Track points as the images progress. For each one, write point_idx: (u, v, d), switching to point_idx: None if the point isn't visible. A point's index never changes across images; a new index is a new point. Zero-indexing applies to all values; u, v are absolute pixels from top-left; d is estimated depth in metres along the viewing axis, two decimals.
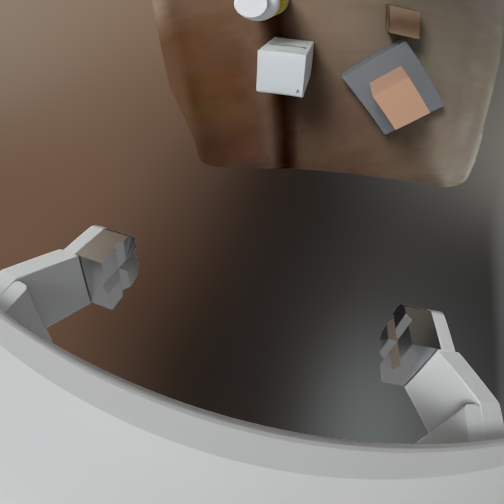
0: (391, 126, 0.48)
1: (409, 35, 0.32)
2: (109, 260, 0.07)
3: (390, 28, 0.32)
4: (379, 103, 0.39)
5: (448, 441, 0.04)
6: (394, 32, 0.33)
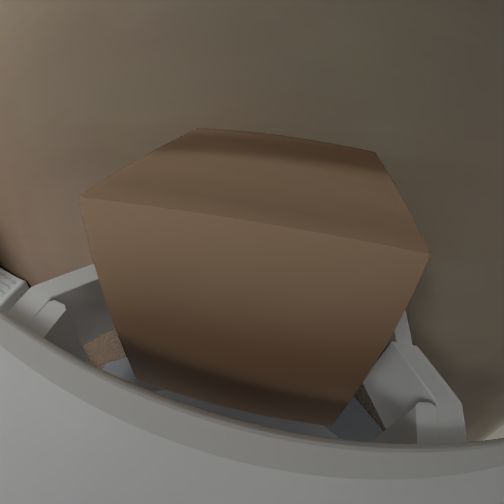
0: None
1: (264, 411, 0.06)
2: None
3: None
4: None
5: (398, 441, 0.05)
6: (162, 384, 0.07)
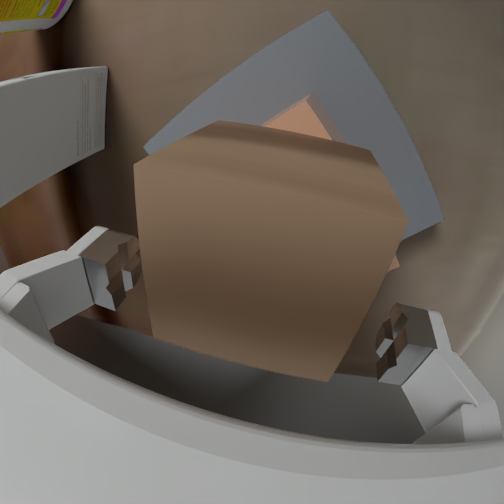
0: None
1: (270, 365, 0.07)
2: (112, 262, 0.07)
3: None
4: None
5: (444, 441, 0.04)
6: (179, 341, 0.08)
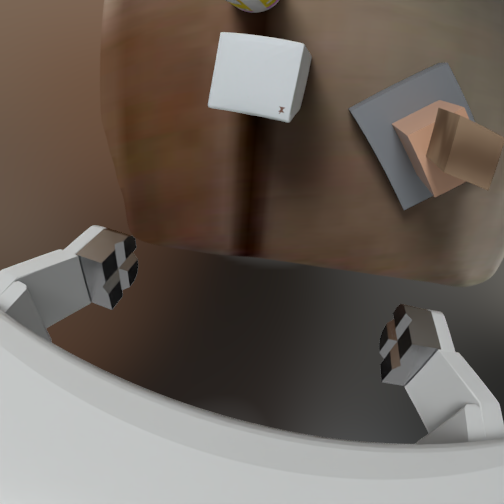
0: (415, 197, 0.33)
1: (475, 181, 0.19)
2: (109, 260, 0.07)
3: (447, 163, 0.19)
4: (416, 148, 0.23)
5: (448, 441, 0.04)
6: (452, 172, 0.19)
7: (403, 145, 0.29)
